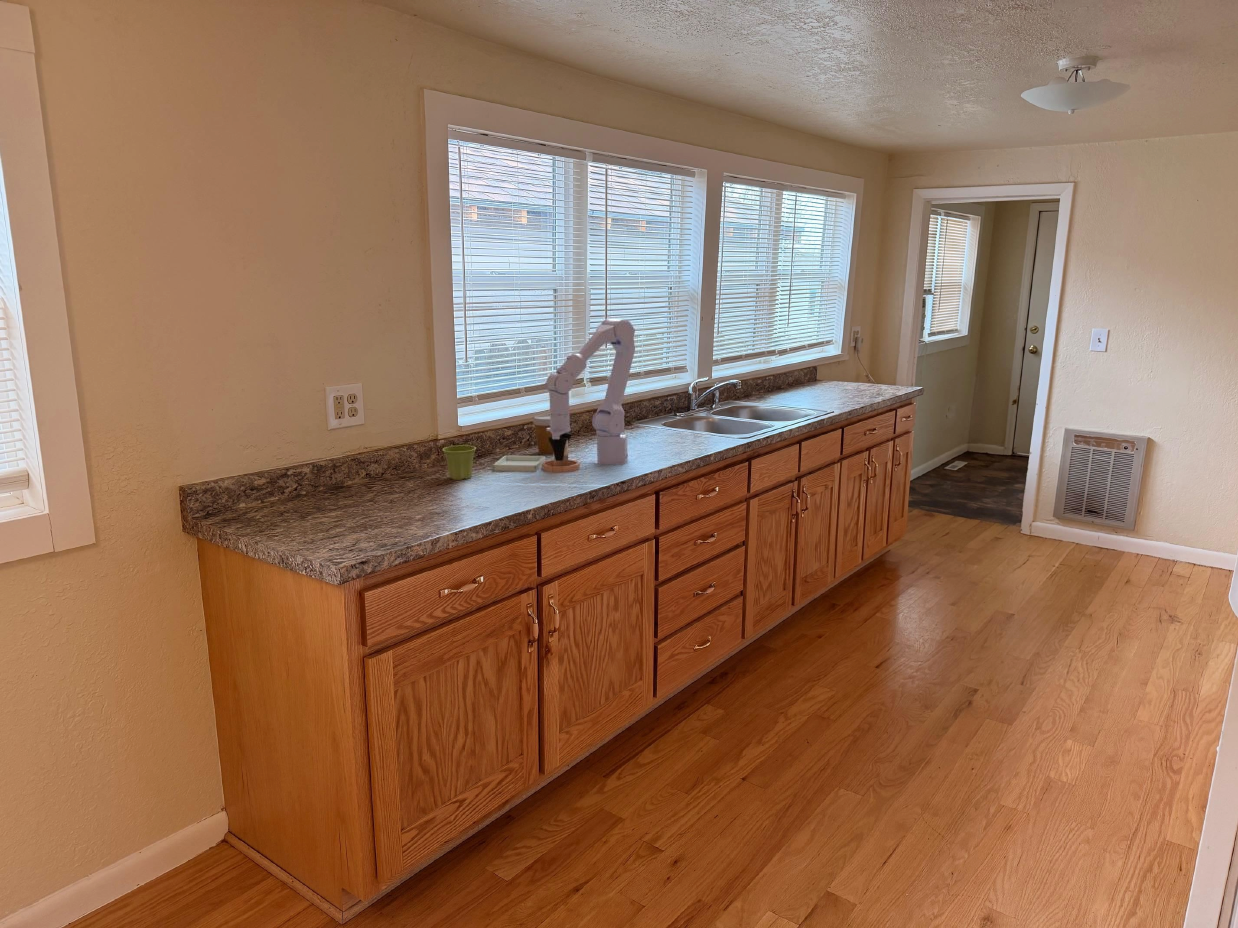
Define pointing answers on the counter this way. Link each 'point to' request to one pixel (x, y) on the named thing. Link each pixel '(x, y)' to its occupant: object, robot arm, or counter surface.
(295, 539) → the counter surface
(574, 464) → the terracotta dish
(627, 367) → the robot arm
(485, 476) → the counter surface
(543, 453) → the disposable coffee cup
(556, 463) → the birch cylinder
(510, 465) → the grey green tray
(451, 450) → the plant pot
